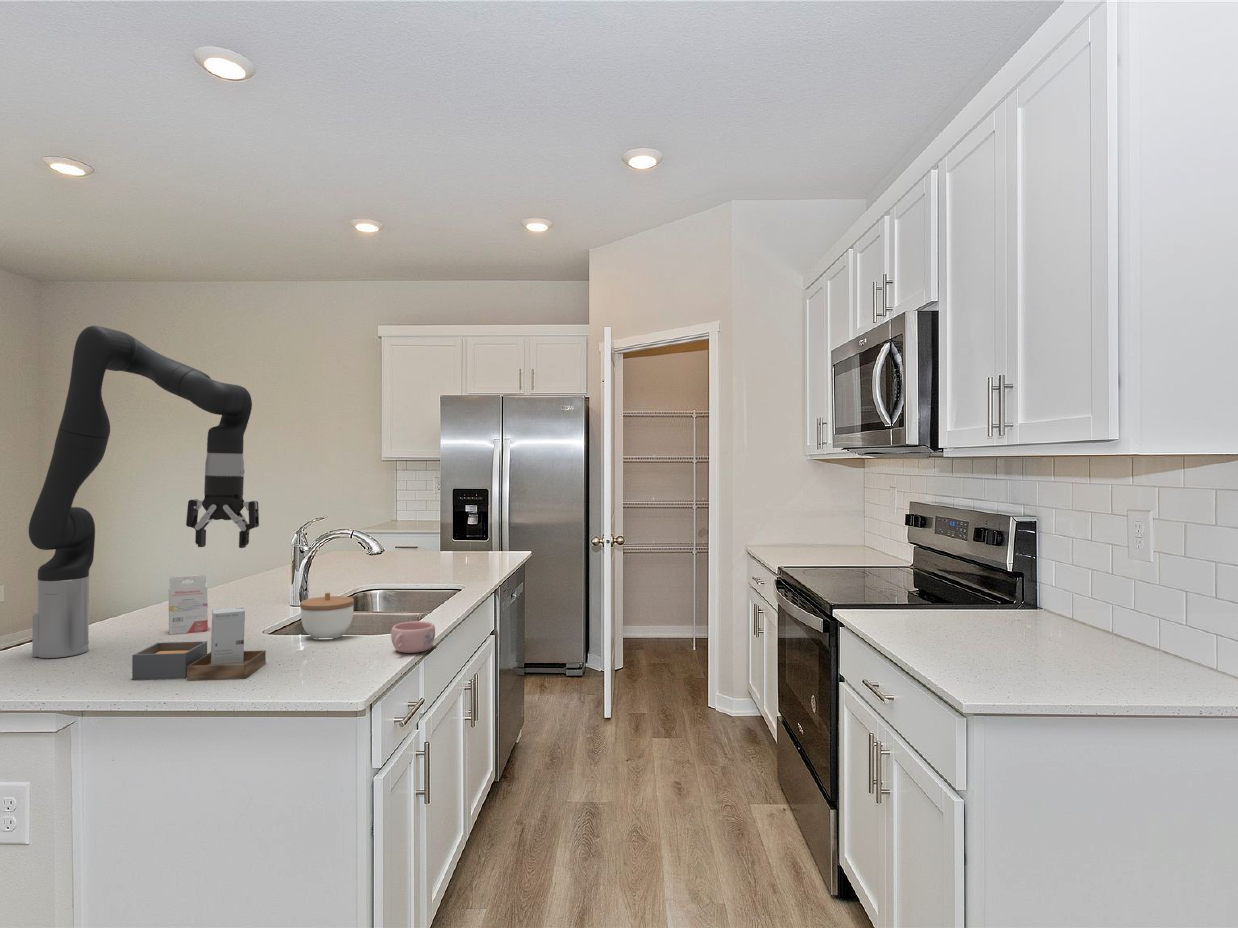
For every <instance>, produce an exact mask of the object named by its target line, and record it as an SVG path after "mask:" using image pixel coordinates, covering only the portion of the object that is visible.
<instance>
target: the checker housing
mask: <svg viewBox="0 0 1238 928" xmlns="http://www.w3.org/2000/svg"><path fill="white" fill-rule="evenodd" d="M180 650H189V651H187V652H185V653H167V654H155V653H157V652H159V651H180ZM207 654H208V640H207V641H173V642H171V641H170V642H169V641H168V642H165V641H164V642H156V643H154V644H152V645H150V646H148V647H145V648H144V649H142V650H140V651H138V652H136V653H134V654H132V655H131V656H132V657H131V658H132V660H131V662H132V663H131V664H132V665H131V667H132V670H131V671H132V672H131V675H132V677H131V680H132V681H141V680H142V681H143V680H169V679H170V680H171V679H187V666H188V665H190V664H192V663H193V662H195V661H197V660H198V659H200V658H202V657H203V656H205V655H207Z"/></svg>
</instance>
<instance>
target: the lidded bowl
mask: <svg viewBox="0 0 1238 928" xmlns="http://www.w3.org/2000/svg"><path fill="white" fill-rule="evenodd" d="M354 604H355V599H354V598H353V597H350V596H342V595H341V596H340V595H331V593H330V592H325V593H324V596H319V597H312V598H306V599H304V600H301V602H300V605H299V606H300V620H301V625H302V627H303V629H304V631H305V632H306V633H307V634H308V635H309V636H311V639H312V638H317V639H314V640H317V641H328V640H331V639H319V638H336V639H339V638H342V637H343V634H345V632H347V630H349V628H350V626H351V625H352V624H351V623H352V620H353V616H354ZM338 637H339V638H338Z"/></svg>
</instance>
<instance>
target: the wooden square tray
mask: <svg viewBox="0 0 1238 928" xmlns="http://www.w3.org/2000/svg"><path fill="white" fill-rule="evenodd" d="M266 655H267V653H266V649H265V650H244V658H243V664H236V665H211V651H210V652H207V655H205V656H203V657H202V658H200V659H198V660H197V661H195V662H193V663H192V664H190V665H188V666H187V678H186V681H210V680H212V681H215V680H238V679H239V680H240V679H242V680H243V679H247V678H249V677H250V676H251V675H253V673H255V672H257V670H258V669H259V670H260V668H262V666H264V665H265V664H266V662H267V661H266V660H267V659H266Z"/></svg>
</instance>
